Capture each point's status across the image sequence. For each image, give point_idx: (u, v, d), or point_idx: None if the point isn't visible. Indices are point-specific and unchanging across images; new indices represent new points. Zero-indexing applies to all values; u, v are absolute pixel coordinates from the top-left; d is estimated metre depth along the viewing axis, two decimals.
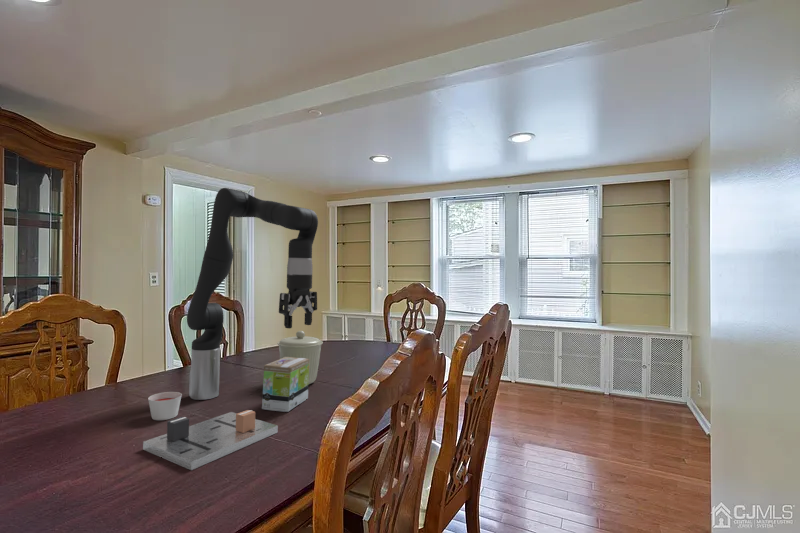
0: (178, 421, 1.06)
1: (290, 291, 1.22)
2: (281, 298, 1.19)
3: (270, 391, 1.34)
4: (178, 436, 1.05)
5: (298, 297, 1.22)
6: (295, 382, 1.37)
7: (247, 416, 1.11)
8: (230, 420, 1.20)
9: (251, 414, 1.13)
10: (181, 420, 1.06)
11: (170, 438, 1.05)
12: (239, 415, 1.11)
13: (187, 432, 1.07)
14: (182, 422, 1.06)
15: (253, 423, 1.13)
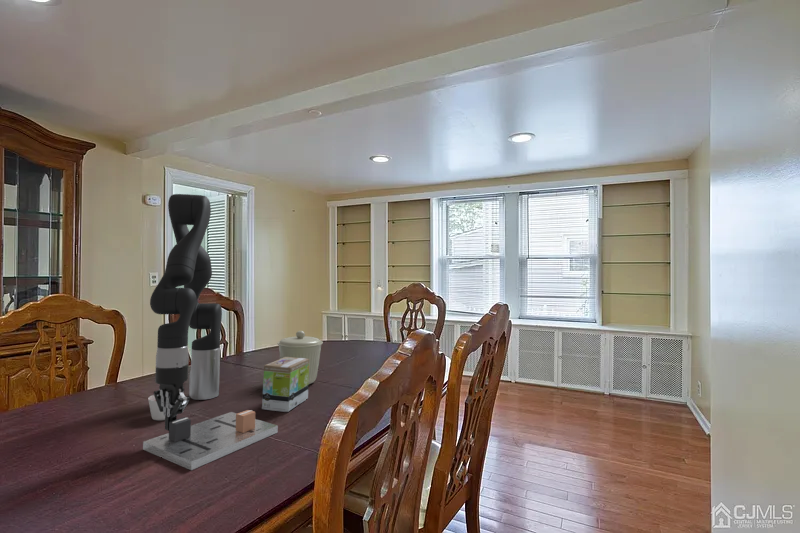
0: (180, 422, 1.05)
1: (180, 386, 1.06)
2: (181, 404, 1.05)
3: (270, 391, 1.34)
4: (180, 437, 1.05)
5: None
6: (295, 382, 1.37)
7: (247, 416, 1.11)
8: (230, 420, 1.20)
9: (251, 414, 1.13)
10: (183, 421, 1.06)
11: (172, 439, 1.04)
12: (239, 415, 1.11)
13: (189, 433, 1.07)
14: (184, 423, 1.06)
15: (253, 423, 1.13)
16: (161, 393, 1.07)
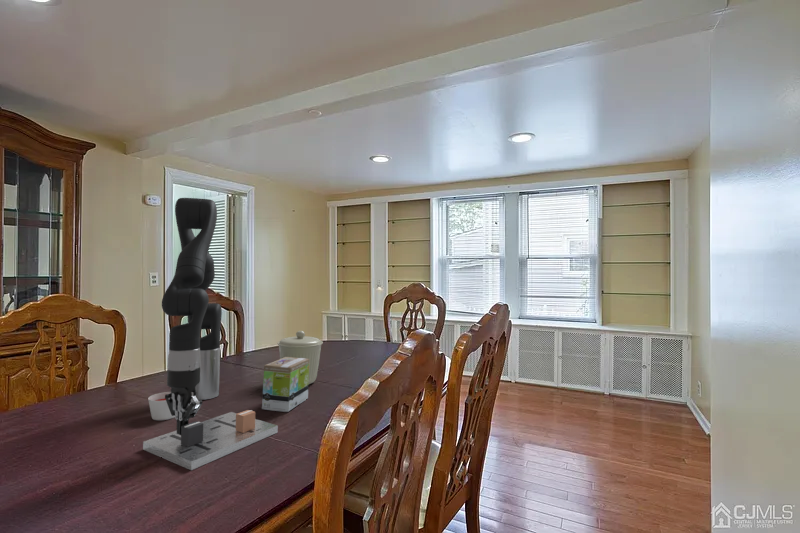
0: (192, 426, 1.03)
1: (192, 389, 1.03)
2: (194, 408, 1.02)
3: (270, 391, 1.34)
4: (192, 442, 1.02)
5: None
6: (295, 382, 1.37)
7: (247, 416, 1.11)
8: (230, 420, 1.20)
9: (251, 414, 1.13)
10: (195, 425, 1.03)
11: (184, 443, 1.02)
12: (239, 415, 1.11)
13: (201, 437, 1.04)
14: (196, 427, 1.03)
15: (253, 423, 1.13)
16: (172, 396, 1.04)
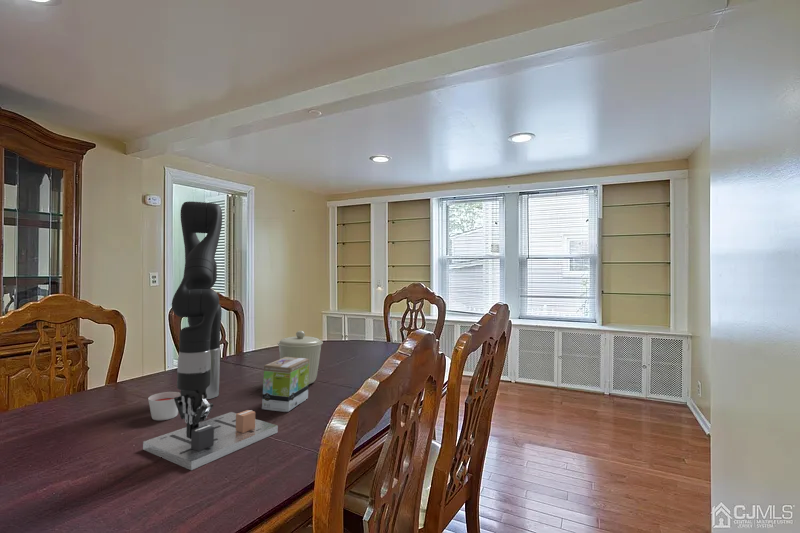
0: (203, 429, 1.01)
1: (203, 392, 1.01)
2: (204, 411, 1.00)
3: (270, 391, 1.34)
4: (203, 446, 1.00)
5: None
6: (295, 382, 1.37)
7: (247, 416, 1.11)
8: (230, 420, 1.20)
9: (251, 414, 1.13)
10: (206, 428, 1.01)
11: (195, 447, 1.00)
12: (239, 415, 1.11)
13: (212, 441, 1.02)
14: (207, 430, 1.01)
15: (253, 423, 1.13)
16: (182, 399, 1.02)
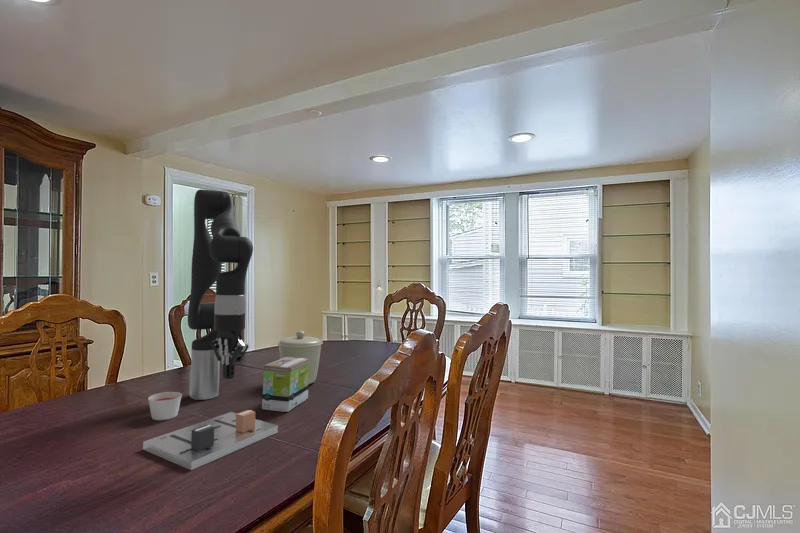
0: (203, 430, 1.00)
1: (238, 334, 1.06)
2: (241, 351, 1.04)
3: (270, 391, 1.34)
4: (203, 446, 1.00)
5: None
6: (295, 382, 1.37)
7: (247, 416, 1.11)
8: (230, 420, 1.20)
9: (251, 414, 1.13)
10: (206, 428, 1.01)
11: (195, 447, 1.00)
12: (239, 415, 1.11)
13: (212, 441, 1.02)
14: (207, 431, 1.01)
15: (253, 423, 1.13)
16: (219, 341, 1.07)
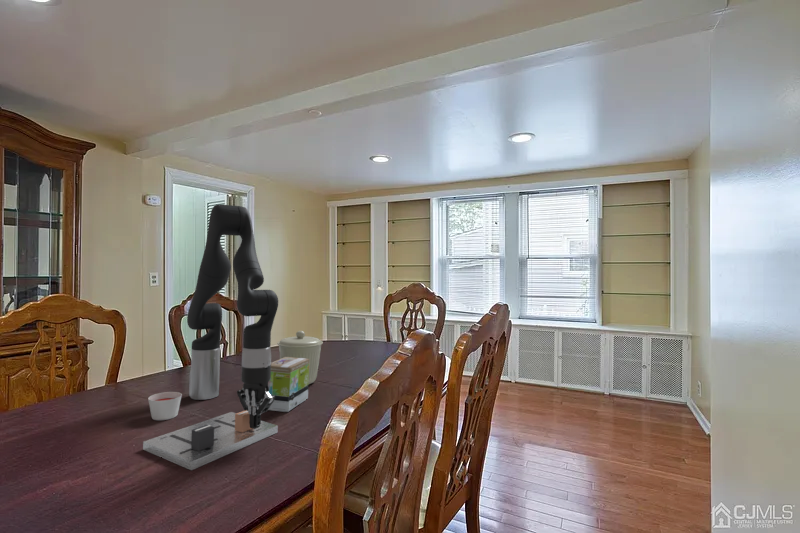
0: (203, 430, 1.00)
1: (265, 385, 1.09)
2: (268, 403, 1.08)
3: (270, 391, 1.34)
4: (203, 446, 1.00)
5: None
6: (295, 382, 1.37)
7: (246, 416, 1.12)
8: (230, 420, 1.20)
9: None
10: (206, 428, 1.01)
11: (195, 447, 1.00)
12: (238, 415, 1.11)
13: (212, 441, 1.02)
14: (207, 431, 1.01)
15: None
16: (246, 392, 1.10)
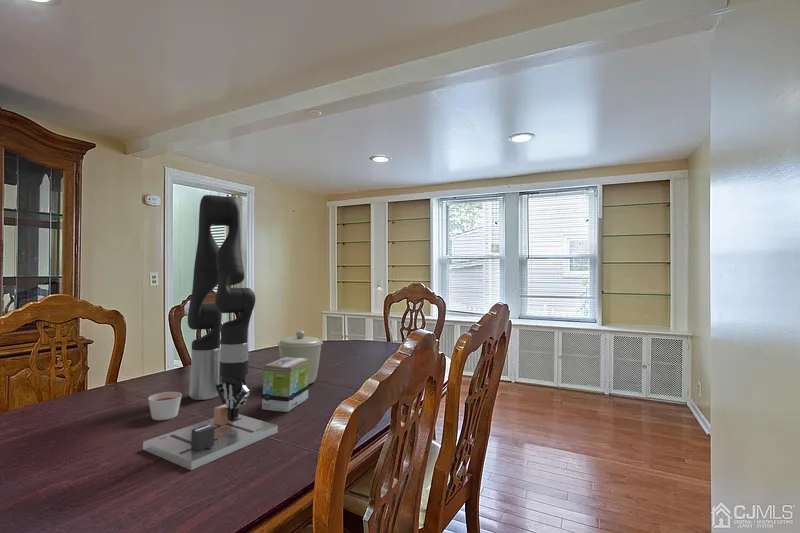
0: (203, 430, 1.00)
1: (242, 379, 1.14)
2: (244, 396, 1.12)
3: (270, 391, 1.34)
4: (203, 446, 1.00)
5: None
6: (295, 382, 1.37)
7: (225, 410, 1.16)
8: None
9: None
10: (206, 428, 1.01)
11: (195, 447, 1.00)
12: (217, 409, 1.16)
13: (212, 441, 1.02)
14: (207, 431, 1.01)
15: None
16: (224, 386, 1.15)
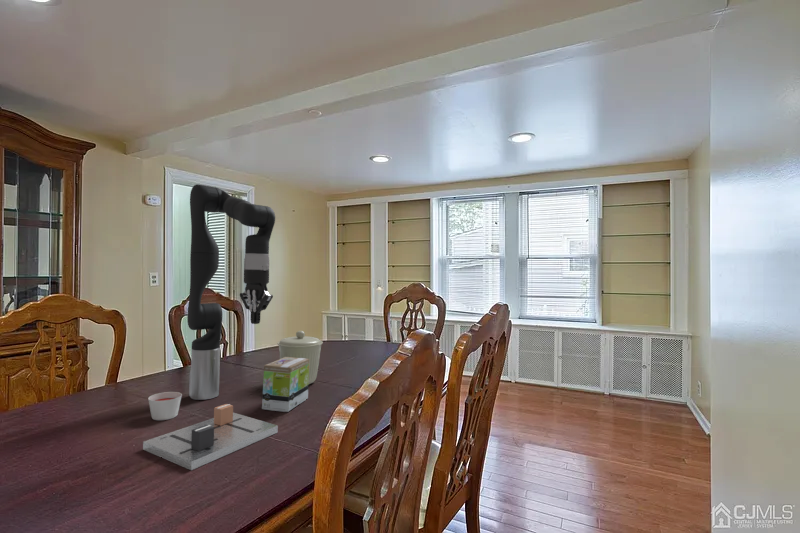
0: (203, 430, 1.00)
1: (264, 286, 1.27)
2: (266, 300, 1.26)
3: (270, 391, 1.34)
4: (203, 446, 1.00)
5: None
6: (295, 382, 1.37)
7: (225, 409, 1.16)
8: None
9: (229, 408, 1.17)
10: (206, 428, 1.01)
11: (195, 447, 1.00)
12: (217, 409, 1.16)
13: (212, 441, 1.02)
14: (207, 431, 1.01)
15: (231, 416, 1.18)
16: (247, 292, 1.28)
